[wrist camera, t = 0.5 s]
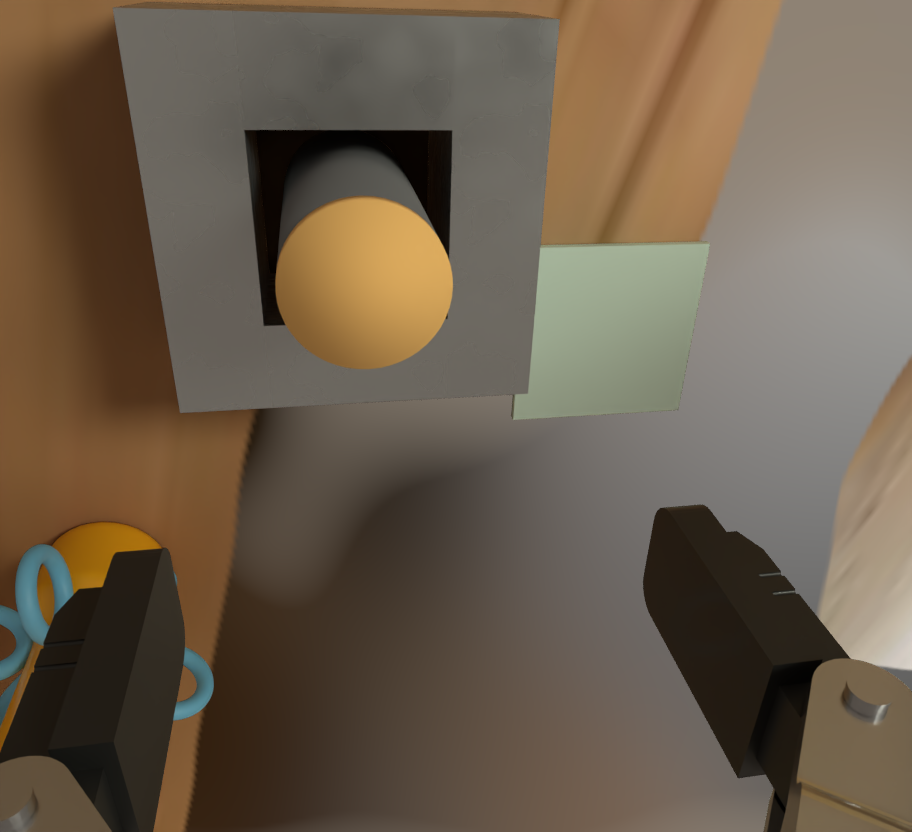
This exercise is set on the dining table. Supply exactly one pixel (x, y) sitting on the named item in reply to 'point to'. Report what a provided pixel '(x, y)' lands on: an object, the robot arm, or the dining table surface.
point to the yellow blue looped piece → (42, 594)
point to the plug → (358, 255)
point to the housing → (337, 108)
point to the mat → (612, 328)
